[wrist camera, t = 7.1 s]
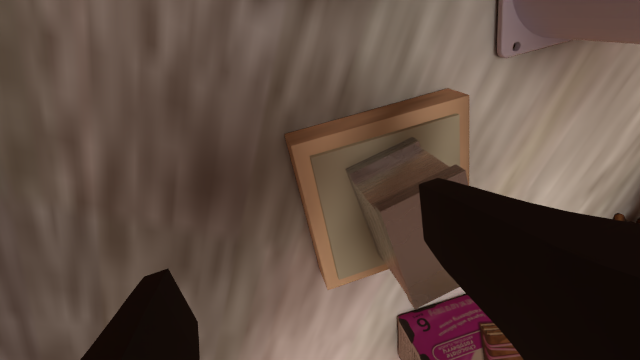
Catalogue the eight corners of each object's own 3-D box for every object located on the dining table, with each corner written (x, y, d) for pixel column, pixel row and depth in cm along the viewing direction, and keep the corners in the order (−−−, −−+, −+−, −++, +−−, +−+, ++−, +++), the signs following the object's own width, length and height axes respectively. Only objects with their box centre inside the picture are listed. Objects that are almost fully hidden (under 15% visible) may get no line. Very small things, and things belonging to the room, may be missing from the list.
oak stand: (447, 88, 21) (472, 96, 19) (451, 225, 25) (471, 243, 23) (284, 134, 19) (291, 148, 17) (319, 269, 24) (329, 293, 22)
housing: (412, 136, 19) (465, 170, 15) (435, 225, 22) (485, 273, 18) (345, 168, 18) (380, 212, 14) (378, 254, 21) (414, 309, 17)
